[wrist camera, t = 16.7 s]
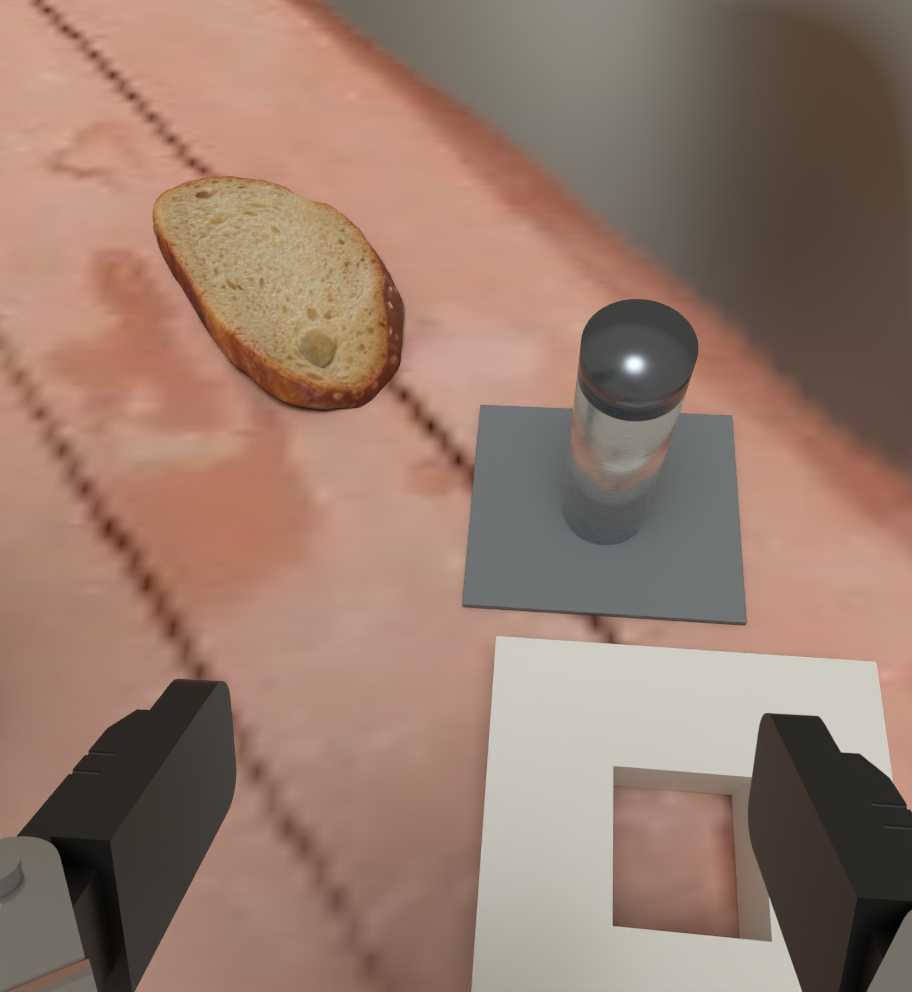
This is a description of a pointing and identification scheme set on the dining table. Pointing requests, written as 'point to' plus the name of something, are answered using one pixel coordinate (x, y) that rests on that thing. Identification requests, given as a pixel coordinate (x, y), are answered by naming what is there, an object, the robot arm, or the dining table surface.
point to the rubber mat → (604, 568)
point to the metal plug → (624, 415)
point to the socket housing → (644, 764)
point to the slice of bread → (284, 289)
